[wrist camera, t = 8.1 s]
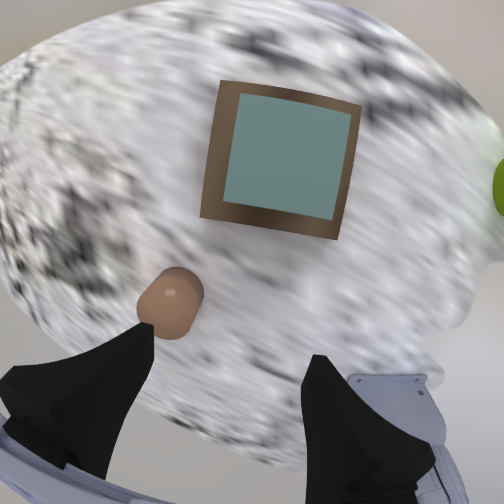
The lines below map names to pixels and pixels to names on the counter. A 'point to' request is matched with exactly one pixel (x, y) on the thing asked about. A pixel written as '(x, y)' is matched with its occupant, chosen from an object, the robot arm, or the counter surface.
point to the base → (220, 157)
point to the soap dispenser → (499, 187)
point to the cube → (286, 156)
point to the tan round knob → (171, 303)
